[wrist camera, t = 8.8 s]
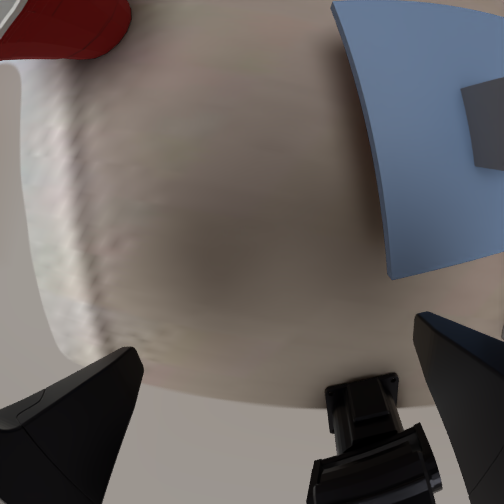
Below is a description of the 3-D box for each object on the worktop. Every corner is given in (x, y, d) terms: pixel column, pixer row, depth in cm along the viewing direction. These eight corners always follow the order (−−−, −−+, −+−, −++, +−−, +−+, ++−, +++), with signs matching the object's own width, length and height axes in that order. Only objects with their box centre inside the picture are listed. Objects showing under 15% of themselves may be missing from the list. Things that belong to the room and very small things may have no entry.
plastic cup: (60, -4, 15) (-30, -41, 3) (169, -38, 14) (98, -125, 2) (41, 102, 18) (-74, 100, 7) (153, 79, 17) (28, 28, 6)
